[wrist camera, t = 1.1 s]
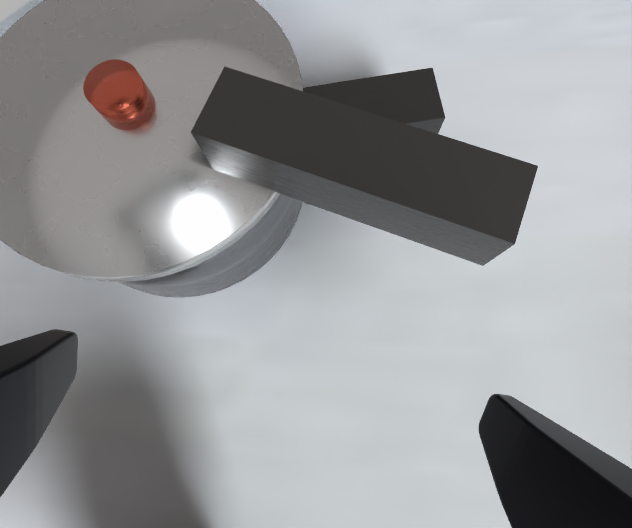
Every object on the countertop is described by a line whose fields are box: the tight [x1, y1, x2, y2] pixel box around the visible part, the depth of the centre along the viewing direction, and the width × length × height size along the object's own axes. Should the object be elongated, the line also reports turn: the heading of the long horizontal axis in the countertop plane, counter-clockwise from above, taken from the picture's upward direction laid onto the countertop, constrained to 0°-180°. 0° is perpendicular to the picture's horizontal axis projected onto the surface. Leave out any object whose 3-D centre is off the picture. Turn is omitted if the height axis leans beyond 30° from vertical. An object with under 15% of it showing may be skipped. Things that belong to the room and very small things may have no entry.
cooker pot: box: [119, 68, 445, 297], centre depth 23 cm, size 26×15×7 cm, turn 98°
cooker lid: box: [0, 0, 538, 282], centre depth 18 cm, size 25×16×4 cm, turn 68°
